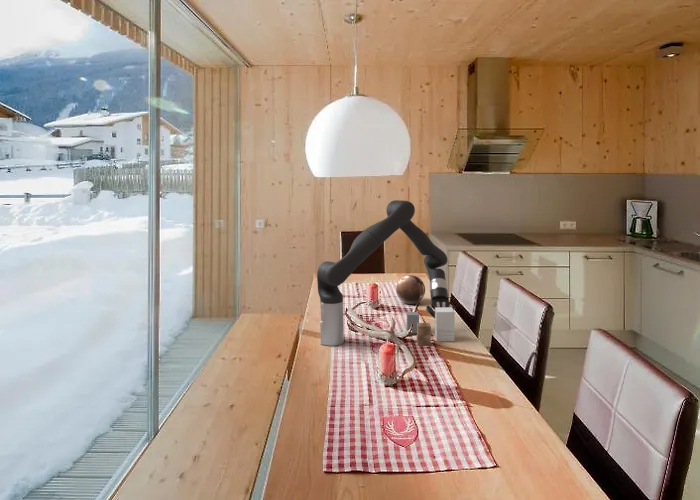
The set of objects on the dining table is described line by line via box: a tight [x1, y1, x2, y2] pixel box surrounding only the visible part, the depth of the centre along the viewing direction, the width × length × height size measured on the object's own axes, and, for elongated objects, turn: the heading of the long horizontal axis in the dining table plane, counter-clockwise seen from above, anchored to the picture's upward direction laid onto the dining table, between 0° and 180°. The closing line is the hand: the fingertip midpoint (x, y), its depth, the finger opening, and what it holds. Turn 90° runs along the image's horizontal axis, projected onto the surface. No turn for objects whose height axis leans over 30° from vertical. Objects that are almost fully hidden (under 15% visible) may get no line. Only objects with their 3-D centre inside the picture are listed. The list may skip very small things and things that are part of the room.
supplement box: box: [434, 307, 456, 343], centre depth 218 cm, size 7×7×13 cm
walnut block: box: [416, 322, 432, 347], centre depth 213 cm, size 5×5×8 cm
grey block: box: [406, 311, 420, 334], centre depth 230 cm, size 5×5×8 cm
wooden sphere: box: [395, 274, 426, 305], centre depth 277 cm, size 15×15×15 cm
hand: (442, 326), depth 222 cm, fingers closed
